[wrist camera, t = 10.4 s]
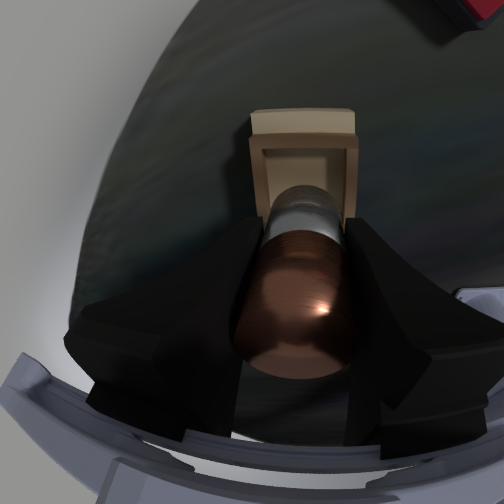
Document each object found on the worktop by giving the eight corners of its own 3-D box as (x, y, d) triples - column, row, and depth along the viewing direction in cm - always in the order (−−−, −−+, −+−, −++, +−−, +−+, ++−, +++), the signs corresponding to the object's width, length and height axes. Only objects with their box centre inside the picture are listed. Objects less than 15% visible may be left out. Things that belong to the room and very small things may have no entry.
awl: (340, 246, 12) (350, 378, 7) (274, 248, 13) (245, 375, 7) (340, 183, 10) (366, 306, 5) (265, 186, 11) (220, 305, 6)
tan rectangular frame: (346, 223, 18) (351, 249, 16) (268, 222, 20) (260, 247, 17) (349, 108, 14) (358, 115, 11) (256, 110, 15) (246, 116, 13)
